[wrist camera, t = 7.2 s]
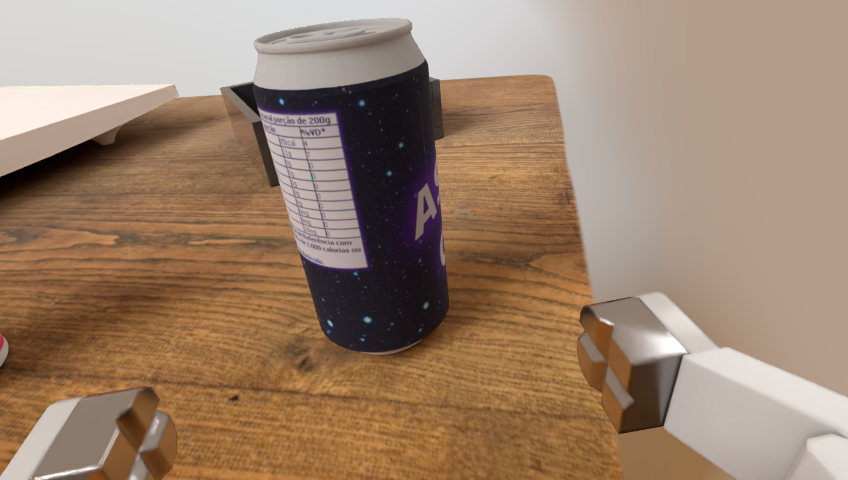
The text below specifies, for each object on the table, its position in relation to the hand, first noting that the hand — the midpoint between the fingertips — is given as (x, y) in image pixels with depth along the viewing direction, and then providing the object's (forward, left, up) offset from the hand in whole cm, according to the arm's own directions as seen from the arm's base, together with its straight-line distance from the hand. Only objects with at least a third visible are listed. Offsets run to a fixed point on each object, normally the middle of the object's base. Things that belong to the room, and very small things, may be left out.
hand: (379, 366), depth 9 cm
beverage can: (-3, -9, -7) cm, 12 cm away
